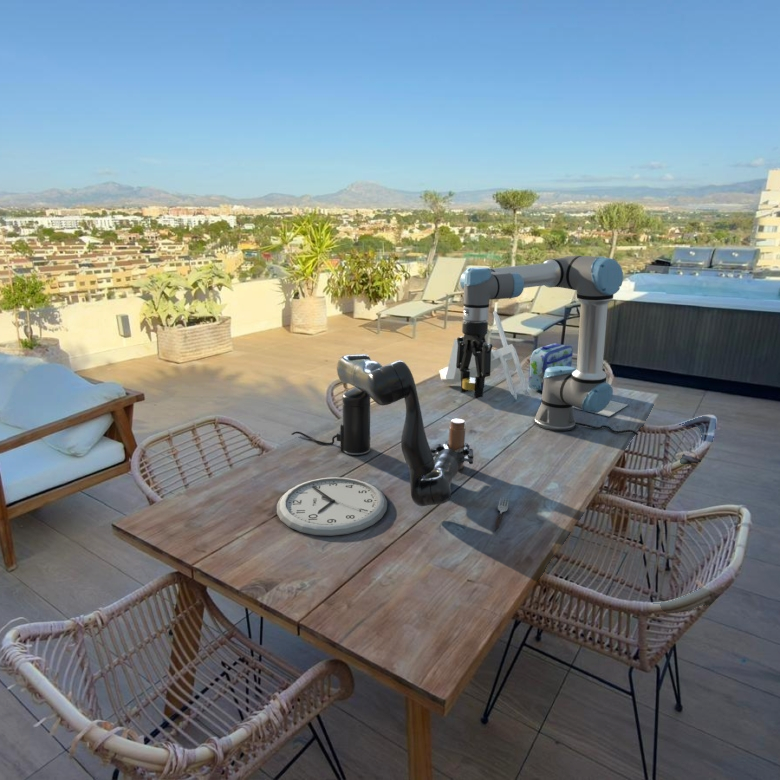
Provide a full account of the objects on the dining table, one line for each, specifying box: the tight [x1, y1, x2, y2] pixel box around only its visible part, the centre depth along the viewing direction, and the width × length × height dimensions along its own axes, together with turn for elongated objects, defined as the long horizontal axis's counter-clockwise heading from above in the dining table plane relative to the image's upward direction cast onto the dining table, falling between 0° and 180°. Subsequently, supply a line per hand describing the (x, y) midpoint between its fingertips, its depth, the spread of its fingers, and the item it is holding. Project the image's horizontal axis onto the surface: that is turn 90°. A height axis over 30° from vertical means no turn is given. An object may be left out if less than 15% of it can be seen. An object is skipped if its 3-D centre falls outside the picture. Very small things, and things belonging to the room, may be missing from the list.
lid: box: [462, 378, 475, 392], centre depth 162 cm, size 6×6×2 cm
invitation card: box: [573, 400, 629, 418], centre depth 226 cm, size 21×1×15 cm
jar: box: [448, 418, 466, 470], centre depth 165 cm, size 5×5×16 cm
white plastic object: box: [438, 310, 531, 400], centre depth 245 cm, size 37×45×31 cm
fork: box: [494, 496, 510, 532], centre depth 138 cm, size 3×16×2 cm, turn 160°
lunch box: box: [528, 343, 574, 392], centre depth 249 cm, size 26×11×21 cm, turn 134°
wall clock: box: [276, 476, 388, 537], centre depth 142 cm, size 30×2×30 cm
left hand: (458, 444), depth 168 cm, fingers closed on jar, 5 cm apart
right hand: (471, 394), depth 163 cm, fingers closed on lid, 6 cm apart
